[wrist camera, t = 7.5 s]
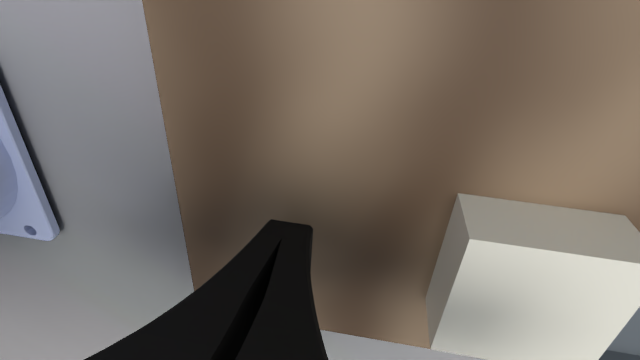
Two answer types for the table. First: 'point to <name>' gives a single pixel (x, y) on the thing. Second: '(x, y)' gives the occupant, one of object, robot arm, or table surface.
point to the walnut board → (390, 130)
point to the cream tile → (532, 281)
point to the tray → (626, 342)
